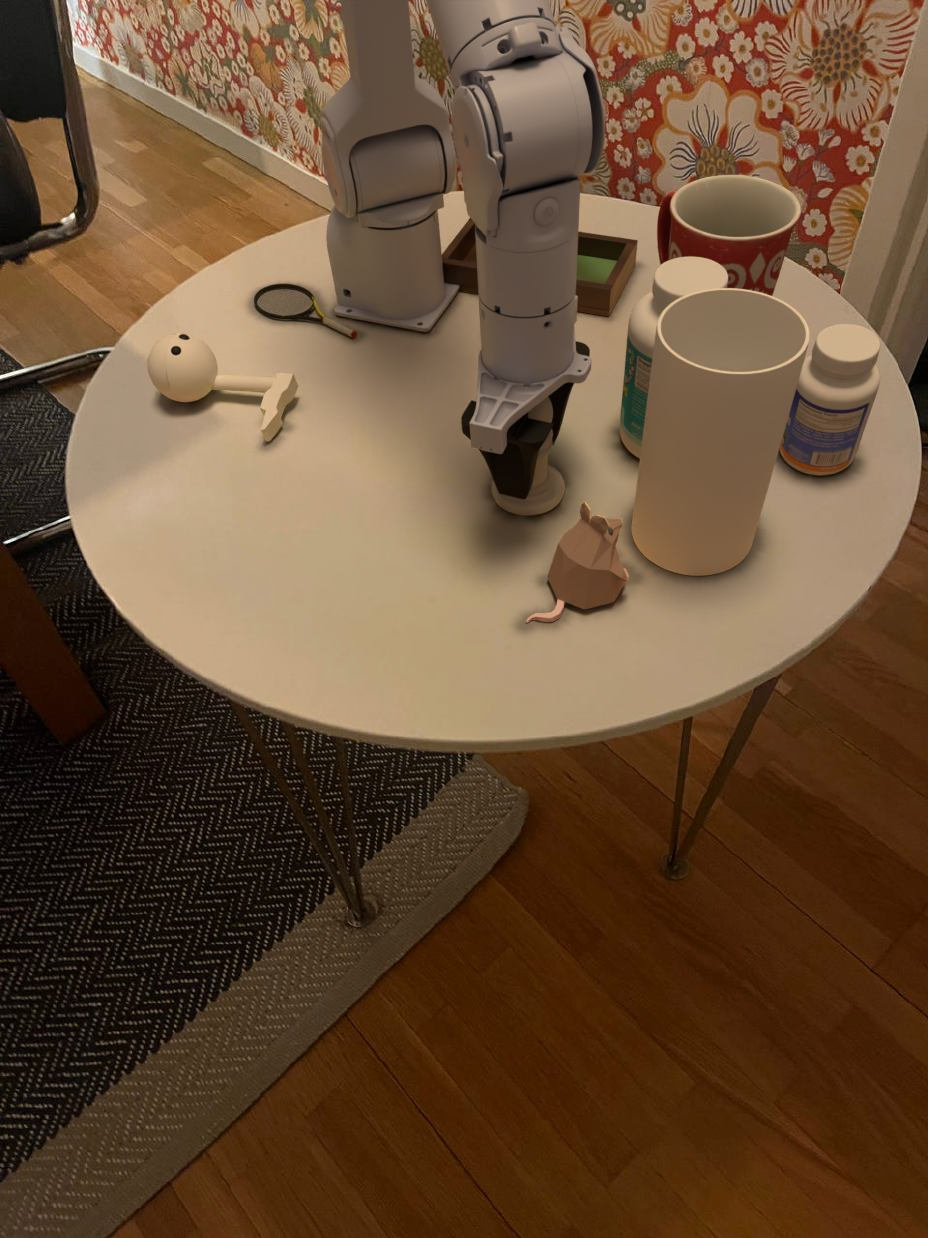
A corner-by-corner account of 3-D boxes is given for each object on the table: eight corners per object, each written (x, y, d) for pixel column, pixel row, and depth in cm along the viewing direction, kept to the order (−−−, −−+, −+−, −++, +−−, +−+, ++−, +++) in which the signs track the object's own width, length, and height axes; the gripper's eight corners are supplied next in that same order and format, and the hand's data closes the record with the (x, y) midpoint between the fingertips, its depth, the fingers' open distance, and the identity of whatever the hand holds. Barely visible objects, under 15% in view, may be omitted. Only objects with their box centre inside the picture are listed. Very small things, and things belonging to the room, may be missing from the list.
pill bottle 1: (647, 396, 70) (667, 233, 60) (734, 427, 67) (771, 262, 57) (599, 449, 67) (612, 286, 56) (688, 484, 64) (719, 319, 53)
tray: (608, 316, 78) (610, 289, 76) (438, 287, 82) (435, 261, 80) (635, 266, 82) (637, 239, 80) (472, 241, 87) (471, 215, 85)
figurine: (150, 316, 72) (287, 321, 69) (178, 366, 76) (307, 373, 74) (112, 390, 68) (255, 398, 65) (144, 438, 73) (279, 447, 70)
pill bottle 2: (798, 418, 67) (826, 306, 60) (867, 443, 65) (906, 330, 57) (764, 460, 65) (789, 350, 57) (835, 488, 63) (870, 376, 55)
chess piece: (574, 510, 63) (579, 408, 56) (501, 525, 63) (497, 424, 55) (553, 462, 66) (555, 360, 59) (484, 475, 66) (478, 374, 59)
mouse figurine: (500, 599, 58) (497, 528, 53) (591, 542, 61) (596, 469, 56) (552, 648, 56) (554, 578, 50) (644, 585, 58) (655, 512, 53)
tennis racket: (240, 298, 82) (280, 274, 84) (242, 305, 82) (282, 281, 85) (332, 344, 76) (373, 317, 78) (334, 351, 77) (374, 324, 79)
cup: (725, 593, 57) (779, 391, 45) (611, 548, 61) (631, 347, 48) (770, 514, 62) (831, 309, 49) (661, 476, 65) (691, 274, 52)
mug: (785, 382, 70) (829, 217, 60) (684, 413, 69) (712, 249, 58) (702, 302, 78) (729, 143, 68) (610, 329, 76) (623, 170, 66)
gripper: (551, 375, 47) (548, 550, 57) (627, 238, 55) (612, 414, 65) (429, 351, 49) (448, 525, 59) (520, 222, 57) (522, 396, 67)
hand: (527, 465), depth 62 cm, fingers open, 5 cm apart
